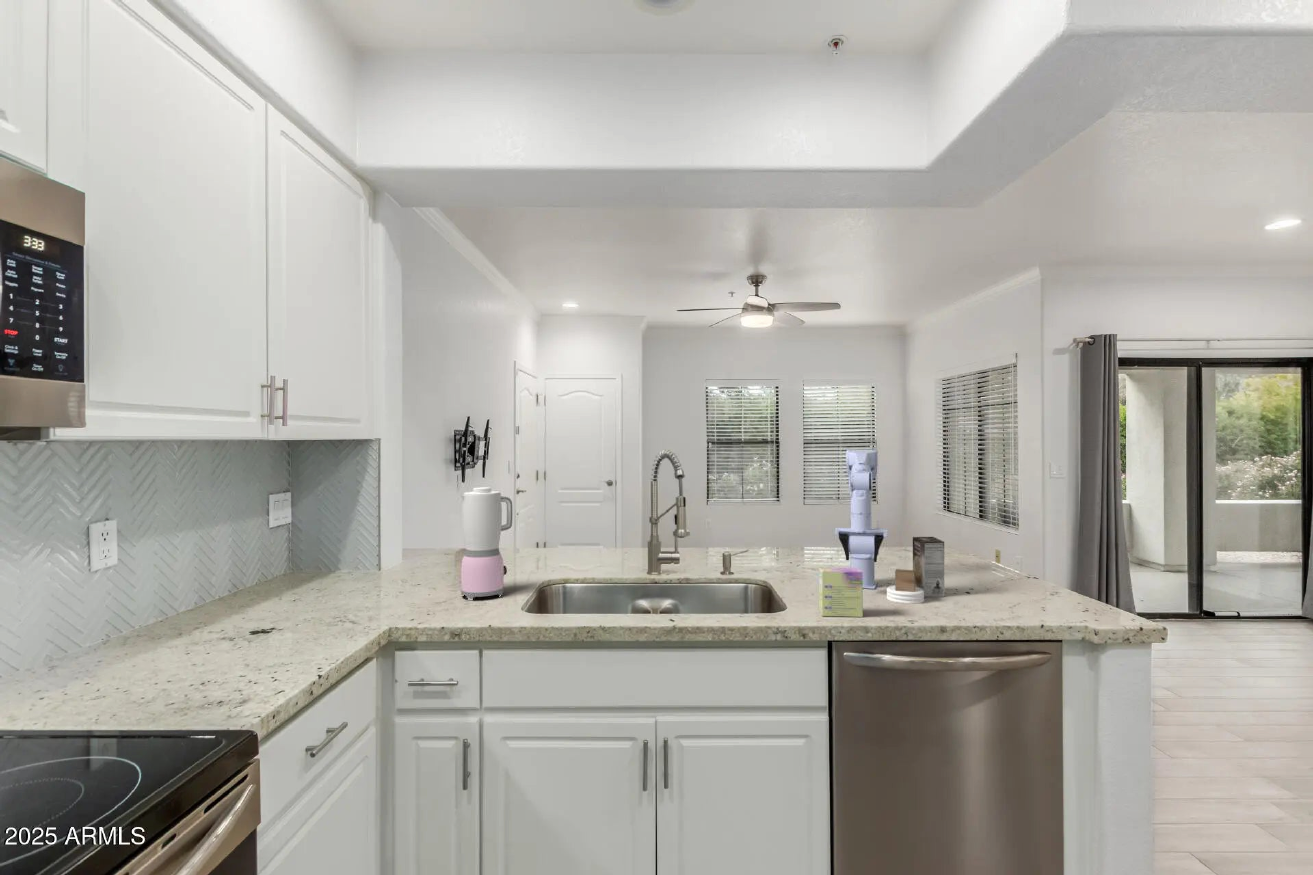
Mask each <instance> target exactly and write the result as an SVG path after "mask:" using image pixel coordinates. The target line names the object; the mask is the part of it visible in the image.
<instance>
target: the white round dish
mask: <svg viewBox="0 0 1313 875" xmlns="http://www.w3.org/2000/svg"><path fill="white" fill-rule="evenodd" d="M924 598H925V597H924V590H923V589H921V588H918V587H915V591H914V592H912V591H899V590H895V585H890V586H888V587H886V599H888V600H887V601H889V600H890V601H889V602H892V601H893V602H892V603H896V602H899V603H898V604H902V603H906V604H905V605H917V603H919V604H922V602H923V603H924V602H925V599H924Z"/></svg>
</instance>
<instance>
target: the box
mask: <svg viewBox="0 0 1313 875" xmlns="http://www.w3.org/2000/svg"><path fill="white" fill-rule="evenodd" d="M863 589H864V588H863V572H862V571H861V570H860V569H859V568H850V567H828V566H827V567H826V566H825V567H824V566H823V567H822V566H821V567H820V566H819V567H818V611H819V613H820V614H821V616H822V617H846V618H847V617H851V618H863V617H864V615H863V614H864V612H863V611H864V609H863V607H864V605H863V603H864V598H863V592H864V590H863Z"/></svg>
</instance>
